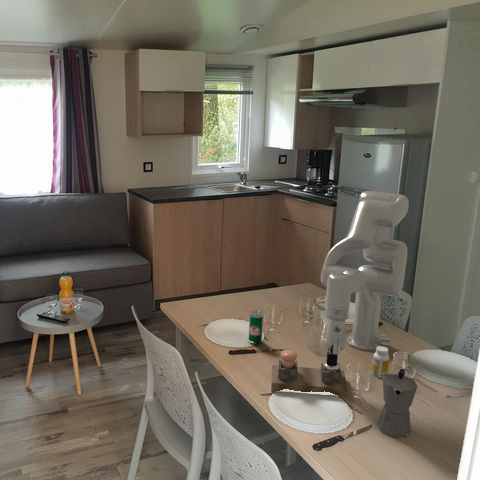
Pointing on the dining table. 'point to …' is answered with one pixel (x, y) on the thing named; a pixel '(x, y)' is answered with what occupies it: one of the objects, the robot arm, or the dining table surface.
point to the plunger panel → (308, 380)
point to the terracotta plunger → (288, 359)
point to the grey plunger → (331, 367)
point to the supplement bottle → (380, 362)
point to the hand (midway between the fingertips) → (331, 364)
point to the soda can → (256, 327)
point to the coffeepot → (397, 404)
